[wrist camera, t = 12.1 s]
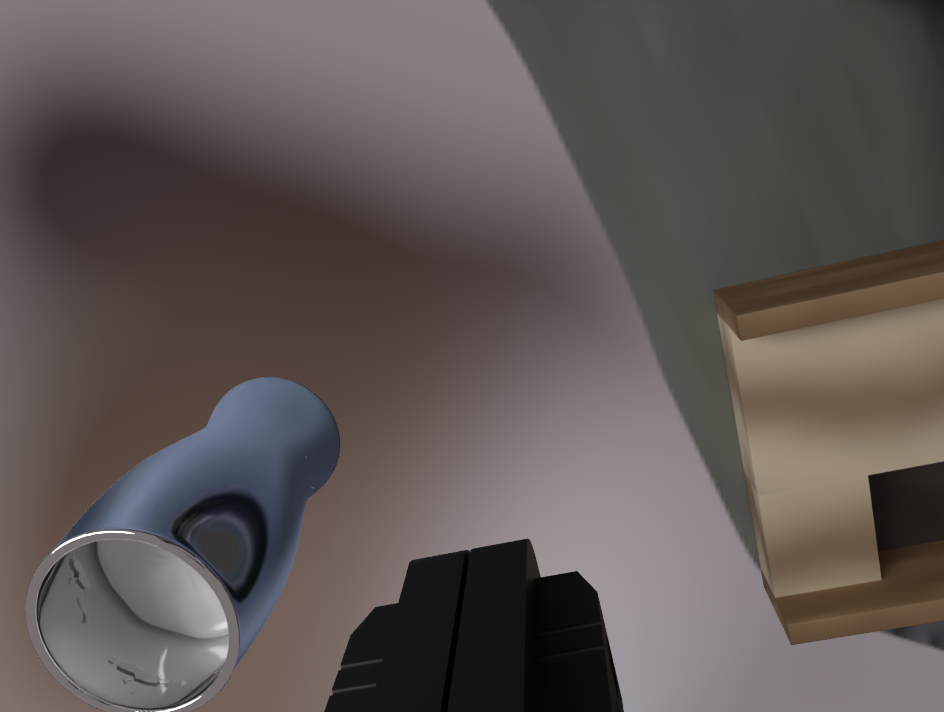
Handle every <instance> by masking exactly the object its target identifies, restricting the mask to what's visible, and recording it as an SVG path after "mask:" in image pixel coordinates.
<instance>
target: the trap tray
mask: <svg viewBox="0 0 944 712" xmlns="http://www.w3.org/2000/svg"><path fill="white" fill-rule="evenodd" d="M713 292H714V298H715V304H716V310H717V316H718V322H719V327H720V333H721V339H722V345H723V351H724V357H725V362H726V368H727V374H728V380H729V386H730V392H731V397H732V403H733V409H734V415H735V421H736V426H737V432H738V438H739V444H740V450H741V456H742V461H743V467H744V473H745V479H746V485H747V491H748V496H749V502H750V508H751V514H752V520H753V526H754V531H755V537H756V543H757V549H758V555H759V561H760V566H761V572H762V578H763V584H764V588H765V590H766V592H767V594H768V596H769V598H770V601H771V603H772V605H773V607H774V609H775V611H776V613H777V616H778V618H779V620H780V622H781V624H782V626H783V628H784V631H785V633H786V635H787V637H788V639H789V641H790V643H791V645H795V644H801V643H807V642H813V641H820V640H826V639H832V638H838V637H844V636H851V635H857V634H863V633H869V632H876V631H882V630H888V629H894V628H901V627H907V626H913V625H919V624H926V623H932V622H938V621H944V240H942V241H938V242H933V243H928V244H924V245H919V246H914V247H910V248H905V249H901V250H896V251H891V252H887V253H882V254H878V255H873V256H868V257H864V258H859V259H855V260H850V261H845V262H841V263H836V264H832V265H827V266H822V267H818V268H813V269H809V270H804V271H799V272H795V273H790V274H786V275H781V276H776V277H772V278H767V279H762V280H758V281H753V282H749V283H744V284H739V285H735V286H730V287H726V288H721V289H716V290H713Z"/></svg>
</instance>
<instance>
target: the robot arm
mask: <svg viewBox="0 0 944 712" xmlns="http://www.w3.org/2000/svg"><path fill="white" fill-rule="evenodd" d="M332 691H333V695H332V696H330V697H329V700H328V703H327V706H326V709H325V712H624V710H623V703H622V697H621V693H620V689H619V684H618V680H617V676H616V671H615V667H614V663H613V659H612V654H611V650H610V645H609V641H608V636H607V632H606V628H605V623H604V619H603V615H602V610H601V606H600V602H599V598H598V593H597V591H595V589H594V588H593V587H592V586H591V585H590V584H589V583H588V582H587V581H586V580H585V579H584V578H583V577H582V576H581V575H580V574H579V573H578V572H577V571H575V572H570V573H564V574H558V575H553V576H547V577H542V578H541V577H540V573H539V569H538V565H537V561H536V557H535V553H534V550H533V547H532V544H531V542H530V540H529V539H523V540H518V541H513V542H507V543H502V544H496V545H491V546H485V547H480V548H474V549H472V550H471V551H468V550H465V551H459V552H454V553H449V554H443V555H438V556H432V557H427V558H421V559H416V560H412V561H411V562H410V563H409V566H408V570H407V573H406V577H405V581H404V584H403V588H402V592H401V595H400V599H399V603H396V604H391V605H385V606H379V607H375V608H374V609H373V611H372V612H371V613H370V614H369V615H368V616H367V617H366V618H365V620H364V621H363V622H362V623H361V624H360V625H359V626H358V627H357V629H356V630H355V631H354V632H353V634H351V636H350V639H349V642H348V645H347V648H346V650H345V653H344V656H343V659H342V662H341V670H339V671H338V674H337V677H336V680H335V682H334V685H333V688H332Z"/></svg>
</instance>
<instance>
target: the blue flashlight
mask: <svg viewBox="0 0 944 712" xmlns="http://www.w3.org/2000/svg"><path fill="white" fill-rule="evenodd" d="M339 452H340V437H339V431H338V427H337V424H336V421H335V419H334V417H333V415H332V413H331V411H330V410H329V408H328V407H327V406H326V404H325V403H324V402H323V401H322V400H321V399H320V398H319V397H318V396H317V395H316V394H315V393H313V392H312V391H311V390H309V389H308V388H306V387H305V386H303V385H301V384H298V383H296V382H294V381H291V380H287V379H282V378H276V377H264V378H257V379H253V380H250V381H247V382H244V383H242V384H240V385H238V386H236V387H235V388H233V389H232V390H230V391H229V392H228V393H227V394H226V395H225V396H224V397H223V398H222V399H221V400H220V402H219V403H218V405H217V406H216V408H215V410H214V411H213V413H212V416H211V418H210V420H209V422H208V424H207V426H206V427H205V428H204V429H202V430H201V431H199V432H197V433H195V434H193V435H190V436H188V437H186V438H184V439H182V440H180V441H178V442H176V443H174V444H172V445H170V446H168V447H166V448H164V449H162V450H161V451H159V452H157V453H156V454H154V455H152V456H151V457H149V458H147V459H146V460H144V461H142V462H141V463H139V464H138V465H136V466H135V467H134V468H132V469H131V470H130V471H129V472H127V473H126V474H125V475H124V476H123V477H121V478H120V479H119V480H118V481H117V482H115V483H114V484H113V485H112V486H111V487H110V488H108V489H107V490H106V491H105V492H104V493H103V494H102V495H101V497H100V498H99V499H98V500H96V502H95V503H94V504H93V505H92V506H91V507H90V508H89V509H88V510H87V511H86V512H85V513H84V514H83V515H82V517H81V518H80V519H79V520H78V521H77V522H76V524H75V525H74V526H73V527H72V528H71V529H70V530H69V532H68V533H67V534H66V535H65V536H64V538H63V539H62V540H61V541H60V543H59V544H58V545H57V546H56V547H55V548H54V549H53V550H52V551H51V552H50V553H48V554H47V556H45V558H44V559H43V560H42V561H41V562H40V564H39V565H38V567H37V568H36V570H35V572H34V574H33V576H32V578H31V580H30V583H29V586H28V589H27V593H26V601H25V619H26V626H27V630H28V634H29V637H30V640H31V643H32V645H33V648H34V650H35V652H36V654H37V656H38V657H39V659H40V661H41V662H42V664H43V665H44V667H45V668H46V669H47V671H48V672H49V673H50V674H51V675H52V677H53V678H54V679H55V680H56V681H57V682H58V683H59V684H60V685H61V686H62V687H64V688H65V689H66V690H67V691H68V692H70V693H71V694H72V695H74V696H75V697H77V698H78V699H80V700H81V701H83V702H85V703H86V704H88V705H90V706H92V707H94V708H96V709H99V710H101V711H104V712H192V711H194V710H196V709H198V708H200V707H202V706H203V705H205V704H206V703H208V702H209V701H210V700H211V699H213V698H214V697H215V696H216V695H217V694H218V693H219V692H220V691H221V690H222V689H223V687H224V686H225V685H226V683H227V682H228V680H229V679H230V677H231V675H232V673H233V671H234V669H235V667H236V666H237V664H238V663H239V662H240V660H241V659H242V657H243V656H244V654H245V653H246V652H247V650H248V649H249V647H250V646H251V644H252V643H253V641H254V640H255V638H256V637H257V635H258V634H259V632H260V631H261V629H262V628H263V626H264V624H265V622H266V621H267V619H268V617H269V615H270V614H271V612H272V610H273V608H274V607H275V605H276V603H277V601H278V599H279V597H280V595H281V592H282V590H283V587H284V586H285V583H286V581H287V579H288V577H289V574H290V571H291V568H292V564H293V560H294V557H295V554H296V550H297V547H298V542H299V537H300V532H301V527H302V521H303V515H304V510H305V505H306V501H307V499H308V498H309V497H310V496H312V495H313V494H314V493H315V492H316V491H317V490H318V489H320V488H321V487H322V486H323V484H325V483H326V481H327V480H328V479H329V477H330V476H331V474H332V473H333V471H334V469H335V467H336V464H337V461H338V458H339Z"/></svg>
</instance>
